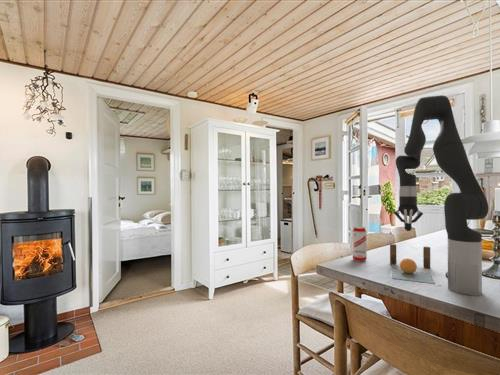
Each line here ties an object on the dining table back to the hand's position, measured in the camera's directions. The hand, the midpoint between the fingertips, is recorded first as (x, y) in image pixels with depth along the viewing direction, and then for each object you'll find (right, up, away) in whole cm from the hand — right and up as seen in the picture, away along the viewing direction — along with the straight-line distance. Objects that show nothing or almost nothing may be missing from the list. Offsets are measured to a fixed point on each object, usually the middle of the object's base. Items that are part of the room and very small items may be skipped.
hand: (408, 230), depth 136 cm
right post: (0, -14, -15) cm, 20 cm away
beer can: (-25, -14, -2) cm, 28 cm away
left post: (-12, -14, -9) cm, 20 cm away
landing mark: (-13, -14, -26) cm, 32 cm away
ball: (-13, -11, -22) cm, 28 cm away
